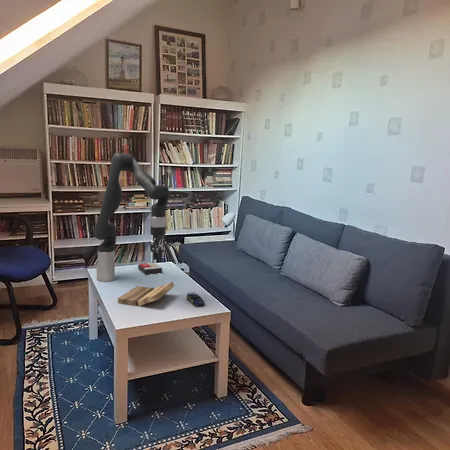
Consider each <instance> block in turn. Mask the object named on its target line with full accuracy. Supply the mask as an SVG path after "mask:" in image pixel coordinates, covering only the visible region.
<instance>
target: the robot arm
mask: <svg viewBox="0 0 450 450" xmlns="http://www.w3.org/2000/svg"><path fill="white" fill-rule="evenodd" d="M121 172H130V173H132V174H133V175H134V180H135V181H136V183H137V184H138V185H139V186H140V187H141V188H142V189H144V191H145V194H146V195H147V197H148V198H149V199H151V200H154V201H155V200H157V202H156V203H154V204H151V208H150V225H149V226H150V227H149V228H150V229H149V230H150V235H151V236H152V240H149V248H150V252H151V253H152V260H154V261H158V258H162V257H163V250H164V249H165V247H166V236H165V235H166V231H167V227H166V225H167V220H166V208H167V204H168V202H169V201H168V200H169V197H170V190H169V187H168V186H167V185H165V184H158V185H157V181H156V180H155V179H154V178H153V177H152V176H151V175H150V174H149V173H147V172H146V170H144V168H142V166H141V164H140V163H139V162H138V161H137V160H136V158H135V157H134V156H133V154H129V153H121V152H120V153H119V152H116V153H114V154H113V155H112V157H111V161H110V166H109V174H108V180H107V184H106V187H105V191H104V195H103V200H102V205H101V208H100V211H99V215H98V217H97V221H96V222H95V226H94V229H93V232H94V233H93V234H94V237H95V238H96V240H98V241H102V242H101V243H100V244H99V245H97V263H96V265H95V266H96V267H95V268H96V280H97V281H99V282H102V283H103V282H104V283H105V282H112V281H114V280H115V278H116V275H115V274H116V272H115V271H116V269H115V266H116V265H115V262H116V261H115V260H116V259H115V256H116V254H115V247H116V243H117V228H116V225H115V224H114V223H113V222H110V219H111V217H112V216H113V215H114V214H115V212H116V211H117V210H118V209H119V207H120V206H121V202H122V198H123V190H122V186H121V184H120V181H119V180H120V174H121Z"/></svg>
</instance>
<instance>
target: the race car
mask: <svg viewBox="0 0 450 450" xmlns="http://www.w3.org/2000/svg"><path fill="white" fill-rule="evenodd" d="M186 299H187V301H188V302H190V304H192V305H193V307H197V308H202V307H204V306H205V300H203V298H202V297H201V296H200V295H199V294H198V293H195V292H193V291H192V293H191V292H188V293H187V295H186Z"/></svg>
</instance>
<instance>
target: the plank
mask: <svg viewBox="0 0 450 450" xmlns="http://www.w3.org/2000/svg"><path fill="white" fill-rule="evenodd" d="M174 287H175V284H174V282H170V283H169V282H168V283H166V284H164V285H161V286H158V287H154V289H153V290H152V291H151V292H149V293H148V294H146V295H145V296H144V297H142V298H141V299H139V300H138V301H137V302H138V306H143V305H146V304H149V303H152V302H154V301H158V300H159V299H161V298H162V297H164V296H165V295H166V294H167V293H168V292H170V291H171V290H172V289H173V288H174Z"/></svg>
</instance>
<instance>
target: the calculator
mask: <svg viewBox="0 0 450 450" xmlns="http://www.w3.org/2000/svg"><path fill="white" fill-rule="evenodd" d="M137 269H138V271H140V272H141V271H142V272H143V273H144V274H145V275H144V274H143V273H142V272H141V273H142V274H143V275H144V276H150V274H153V275H159V274H158V273H161V274H163V267H161V266H159V264H157V263H155V262H148V263H139V264H138V265H137Z"/></svg>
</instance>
